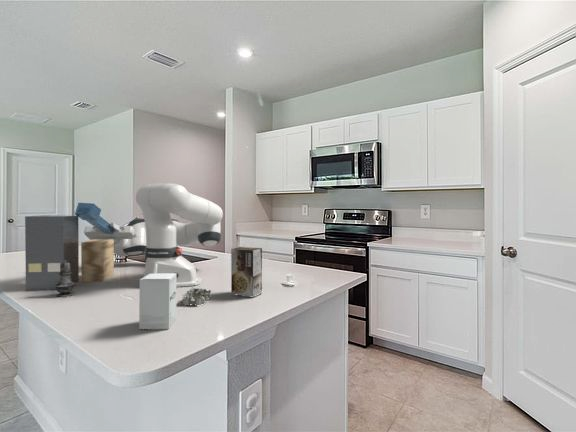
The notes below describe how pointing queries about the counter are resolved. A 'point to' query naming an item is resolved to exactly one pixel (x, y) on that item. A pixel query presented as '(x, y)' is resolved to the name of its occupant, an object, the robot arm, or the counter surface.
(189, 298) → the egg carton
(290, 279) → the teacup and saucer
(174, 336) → the counter surface
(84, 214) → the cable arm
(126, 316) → the counter surface
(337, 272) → the counter surface
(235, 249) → the coffee box
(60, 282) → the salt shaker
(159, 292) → the supplement box
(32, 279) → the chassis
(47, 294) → the counter surface
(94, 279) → the wooden log section
